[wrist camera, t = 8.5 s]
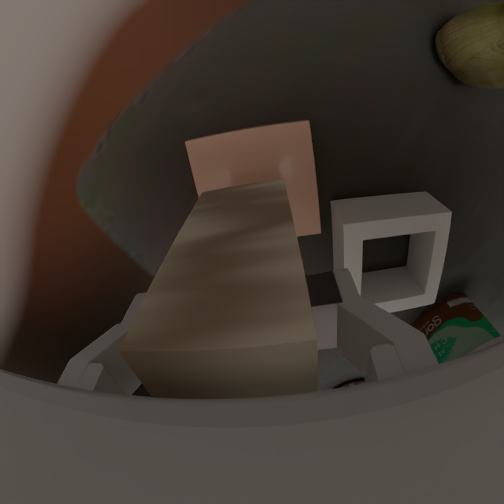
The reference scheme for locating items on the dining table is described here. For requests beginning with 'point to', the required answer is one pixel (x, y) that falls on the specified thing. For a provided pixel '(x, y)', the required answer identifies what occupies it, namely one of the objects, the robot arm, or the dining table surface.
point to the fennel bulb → (475, 46)
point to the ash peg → (228, 304)
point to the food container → (456, 328)
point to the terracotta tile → (262, 165)
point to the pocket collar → (386, 225)
